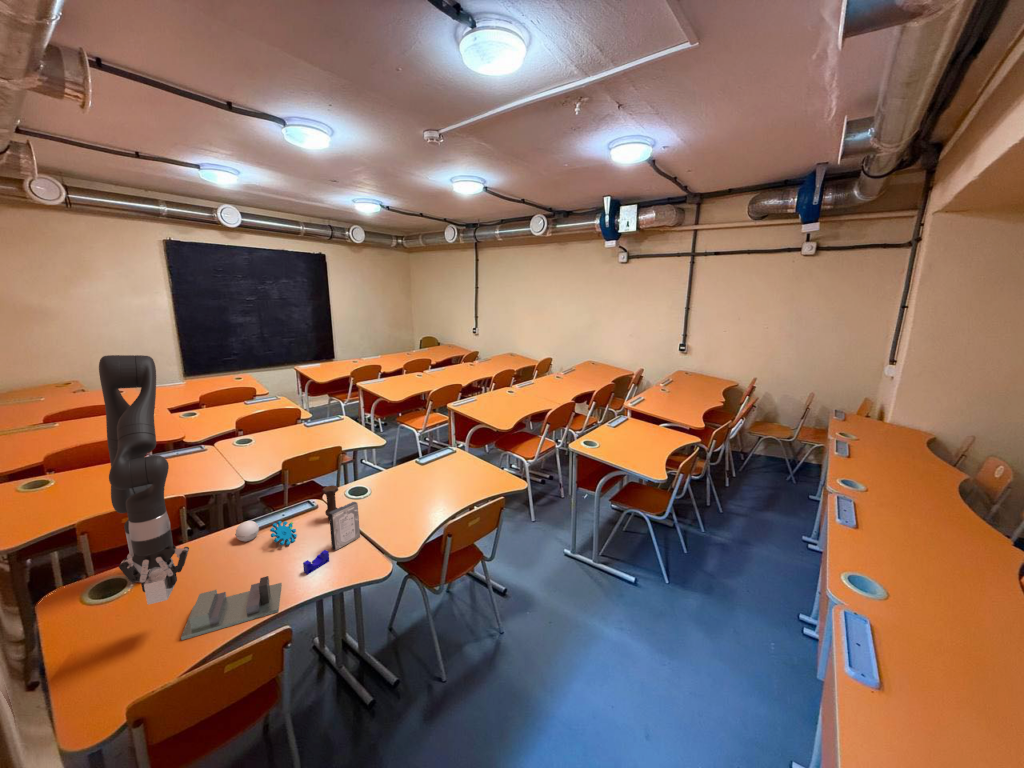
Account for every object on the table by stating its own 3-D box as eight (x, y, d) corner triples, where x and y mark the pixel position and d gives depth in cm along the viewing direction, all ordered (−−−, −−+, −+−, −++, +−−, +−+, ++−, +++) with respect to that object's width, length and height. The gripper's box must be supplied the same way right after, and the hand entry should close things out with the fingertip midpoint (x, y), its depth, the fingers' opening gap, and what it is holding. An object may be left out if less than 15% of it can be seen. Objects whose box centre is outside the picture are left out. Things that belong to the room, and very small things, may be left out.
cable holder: (323, 558, 134) (322, 548, 133) (329, 561, 132) (328, 551, 131) (301, 571, 127) (300, 561, 126) (307, 575, 125) (306, 564, 124)
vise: (181, 640, 100) (178, 624, 99) (194, 608, 110) (191, 593, 109) (278, 612, 110) (276, 597, 109) (281, 585, 120) (280, 571, 119)
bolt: (342, 521, 156) (339, 488, 153) (330, 526, 152) (327, 492, 149) (335, 516, 160) (332, 483, 157) (323, 521, 156) (320, 488, 153)
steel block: (147, 604, 98) (143, 584, 96) (156, 589, 103) (152, 569, 102) (167, 599, 99) (164, 580, 98) (175, 584, 105) (171, 565, 103)
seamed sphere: (232, 541, 142) (230, 523, 140) (254, 531, 148) (252, 514, 147) (245, 550, 137) (243, 532, 135) (267, 540, 143) (265, 522, 141)
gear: (287, 548, 137) (266, 530, 135) (276, 558, 138) (256, 539, 136) (304, 530, 148) (285, 513, 146) (294, 539, 148) (275, 522, 147)
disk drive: (335, 551, 137) (332, 514, 134) (331, 548, 139) (328, 511, 136) (360, 537, 146) (358, 502, 143) (356, 535, 147) (354, 500, 144)
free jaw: (247, 615, 107) (244, 596, 106) (252, 591, 116) (250, 574, 114) (267, 609, 109) (265, 591, 108) (271, 586, 118) (269, 569, 117)
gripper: (105, 546, 91) (118, 607, 94) (181, 532, 97) (190, 590, 101) (119, 529, 97) (131, 587, 101) (190, 517, 104) (198, 572, 107)
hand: (160, 588), depth 101 cm, fingers closed on steel block, 4 cm apart
